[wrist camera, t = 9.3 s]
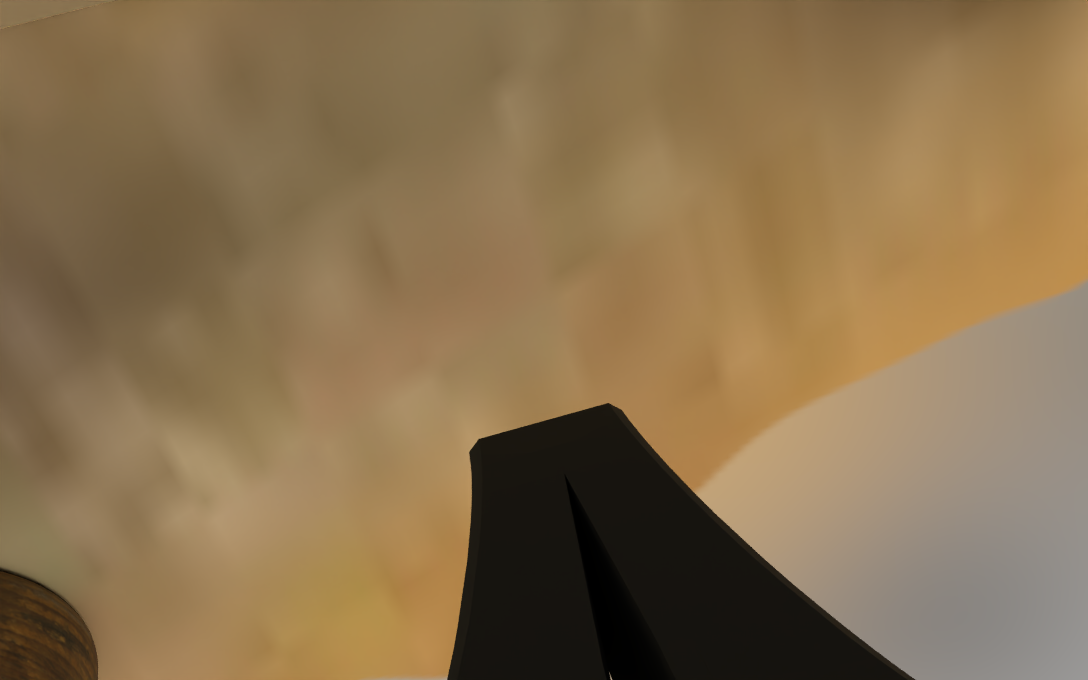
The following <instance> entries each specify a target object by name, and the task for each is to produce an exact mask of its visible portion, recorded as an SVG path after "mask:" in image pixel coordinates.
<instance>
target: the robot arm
mask: <svg viewBox="0 0 1088 680" xmlns="http://www.w3.org/2000/svg"><path fill="white" fill-rule="evenodd" d="M469 454H470V462H471V472H472V509H471V526H470V537H469V548H468V559H467V567H466V573H465V580H464V587H463V594H462V601H461V608H460V615H459V622H458V629H457V634H456V640H455V645H454V651H453V655H452V660H451V665H450V669H449V674H448V678H447V680H611V679H610V675H611V677H612V680H915V679H914V678H912V677H911V676H909V675H908V674H906V673H905V672H904V671H902V670H901V669H899V668H898V667H897V666H895V665H894V664H892V663H891V662H890V661H889V660H887V659H886V658H884V657H883V656H882V655H881V654H879V653H878V652H877V651H875V650H874V649H873V648H871V647H870V646H869V645H868V644H866V643H865V642H864V641H862V640H861V639H860V638H859V637H857V636H856V635H855V634H853V633H852V632H851V631H850V630H848V629H847V628H846V627H844V626H843V625H842V624H841V623H839V622H838V621H837V620H836V619H835V618H833V617H832V616H831V615H830V614H828V613H827V612H826V611H825V610H823V609H822V608H821V607H820V606H819V605H817V604H816V603H815V602H814V601H812V600H811V599H810V598H809V597H808V596H807V595H805V594H804V593H803V592H802V591H800V590H799V589H798V588H797V587H796V586H794V585H793V584H792V583H791V582H790V581H789V580H787V579H786V578H785V577H784V576H783V575H782V574H781V573H779V572H778V571H777V570H776V569H775V568H774V567H773V566H771V565H770V564H769V563H768V562H767V561H766V560H765V559H764V558H762V557H761V556H760V555H759V554H758V553H757V552H756V551H755V550H754V549H753V548H752V547H750V545H748V544H747V543H746V542H745V541H744V540H743V539H742V538H741V537H740V536H739V535H738V534H737V533H735V532H734V531H733V530H732V529H731V528H730V527H729V526H728V525H727V524H726V523H725V522H724V521H723V520H721V519H720V518H719V517H718V516H717V515H716V514H715V513H714V512H713V511H712V510H711V509H710V508H709V507H708V506H707V505H706V504H705V503H704V502H703V501H702V500H701V499H700V498H699V497H698V496H697V495H696V494H695V493H694V492H693V491H692V490H691V489H690V488H689V487H688V486H687V485H686V484H685V483H684V482H683V481H682V480H681V479H680V478H679V477H678V475H677V474H676V473H675V472H674V471H673V470H672V469H671V468H670V467H669V466H668V465H667V464H666V463H665V462H664V461H663V459H662V458H661V457H660V456H659V455H658V454H657V453H656V452H655V451H654V449H653V448H652V447H651V446H650V445H649V444H648V443H647V441H646V440H645V439H644V438H643V437H642V435H641V434H640V433H639V432H638V431H637V429H636V428H635V427H634V426H633V424H632V423H631V422H630V421H629V419H628V418H627V417H626V415H625V414H624V413H623V411H622V410H621V409H619V408H617V407H615V406H613V405H611V404H609V403H607V404H603V405H600V406H596V407H593V408H589V409H585V410H582V411H578V412H575V413H571V414H567V415H564V416H560V417H557V418H553V419H549V420H546V421H542V422H539V423H535V424H531V425H528V426H524V427H521V428H517V429H513V430H510V431H506V432H503V433H499V434H495V435H492V436H488V437H485V438H481V439H479V440H478V441H477V442H476V444H475V445H474V446H473V448H472V449H471V450H470V452H469ZM609 673H610V674H609Z"/></svg>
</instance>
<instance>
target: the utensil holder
mask: <svg viewBox="0 0 1088 680" xmlns="http://www.w3.org/2000/svg"><path fill="white" fill-rule="evenodd" d="M0 680H98V659H97V653H96V648H95V645H94V641H93V638H92V636H91V634H90V632H89V630H88V628H87V626H86V625H85V623H84V622H83V620H82V619H81V618H80V616H79V615H78V614H77V613H76V612H75V611H74V610H73V609H72V608H71V607H70V606H69V605H68V604H67V603H66V602H65V601H63V600H62V599H61V598H59V597H58V596H57V595H55V594H54V593H52V592H51V591H49V590H47V589H45V588H43V587H42V586H40V585H38V584H35V583H33V582H31V581H29V580H26V579H24V578H21V577H18V576H15V575H12V574H9V573H5V572H1V571H0Z"/></svg>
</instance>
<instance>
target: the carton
mask: <svg viewBox="0 0 1088 680" xmlns="http://www.w3.org/2000/svg"><path fill="white" fill-rule="evenodd" d="M112 1H116V0H0V29H4V28H8V27H12V26H16V25H20V24H24V23H28V22H32V21H36V20H40V19H44V18H48V17H52V16H56V15H60V14H64V13H68V12H72V11H76V10H80V9H84V8H88V7H92V6H96V5H100V4H104V3H108V2H112Z"/></svg>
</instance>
